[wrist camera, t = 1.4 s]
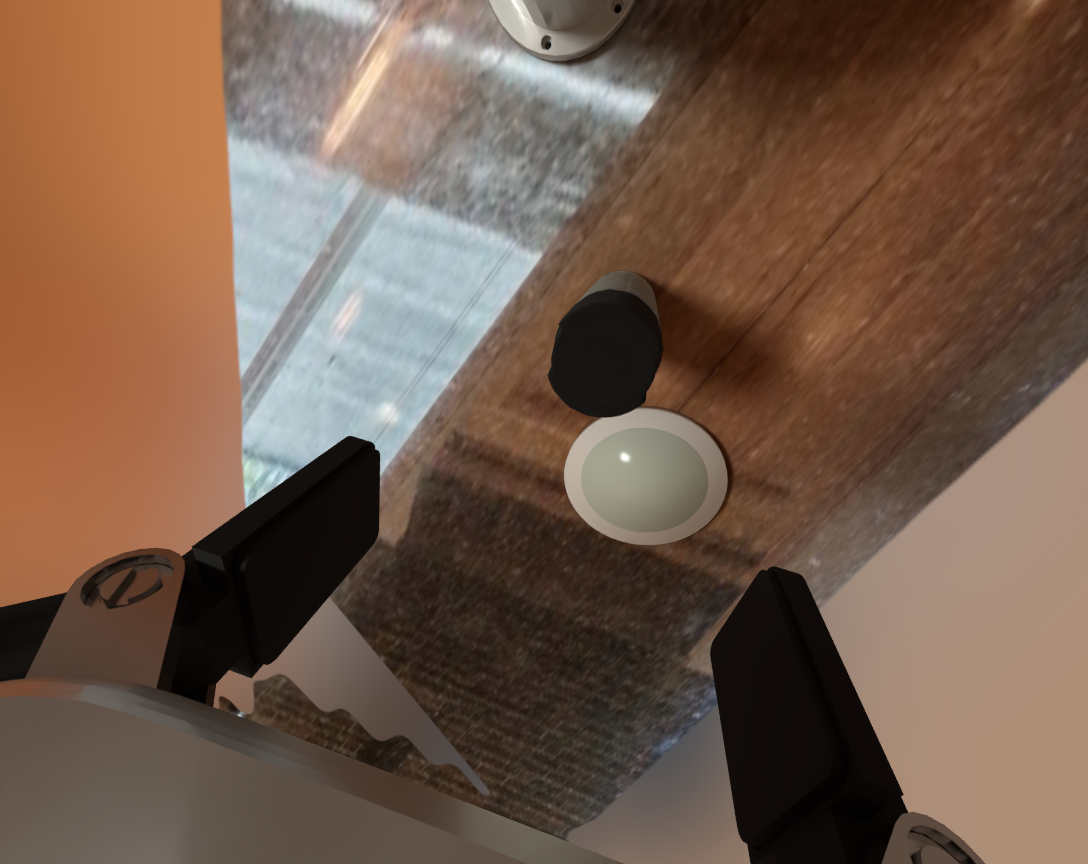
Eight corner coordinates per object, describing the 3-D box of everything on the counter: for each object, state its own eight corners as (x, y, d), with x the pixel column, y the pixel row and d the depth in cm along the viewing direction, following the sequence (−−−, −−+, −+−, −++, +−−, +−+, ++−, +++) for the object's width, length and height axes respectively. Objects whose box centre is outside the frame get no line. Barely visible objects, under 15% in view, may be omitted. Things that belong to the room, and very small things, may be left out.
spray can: (578, 330, 42) (532, 405, 24) (596, 260, 38) (557, 288, 21) (642, 347, 41) (643, 437, 23) (666, 277, 38) (686, 321, 20)
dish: (587, 386, 44) (585, 391, 43) (754, 433, 42) (757, 438, 41) (551, 513, 53) (549, 519, 51) (689, 555, 51) (690, 563, 50)
